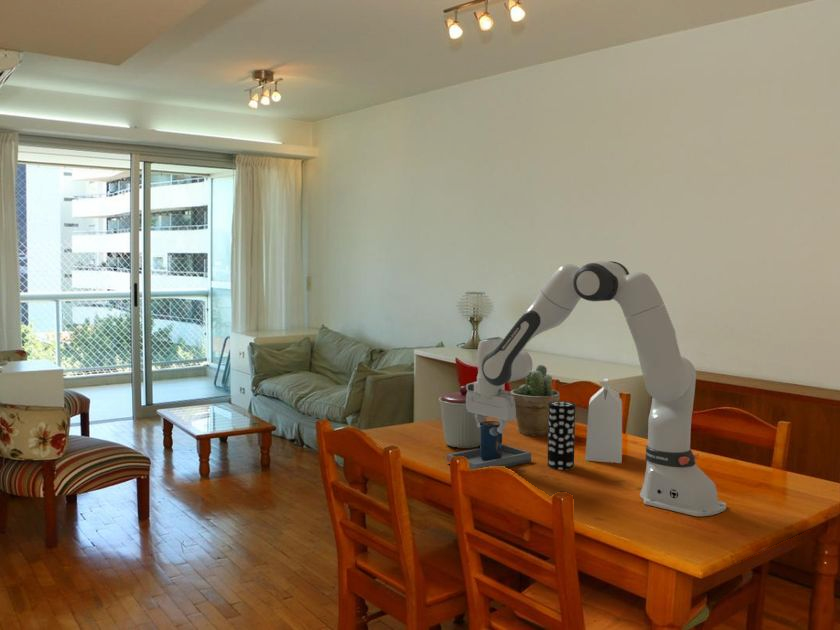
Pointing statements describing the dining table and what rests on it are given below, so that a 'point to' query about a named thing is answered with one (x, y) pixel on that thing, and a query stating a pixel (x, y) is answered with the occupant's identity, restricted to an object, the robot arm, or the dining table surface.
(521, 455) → the tray
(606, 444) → the milk
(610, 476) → the dining table surface
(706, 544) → the dining table surface
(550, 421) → the white-spotted black cylinder
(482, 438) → the soda can
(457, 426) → the canister
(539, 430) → the potted plant
